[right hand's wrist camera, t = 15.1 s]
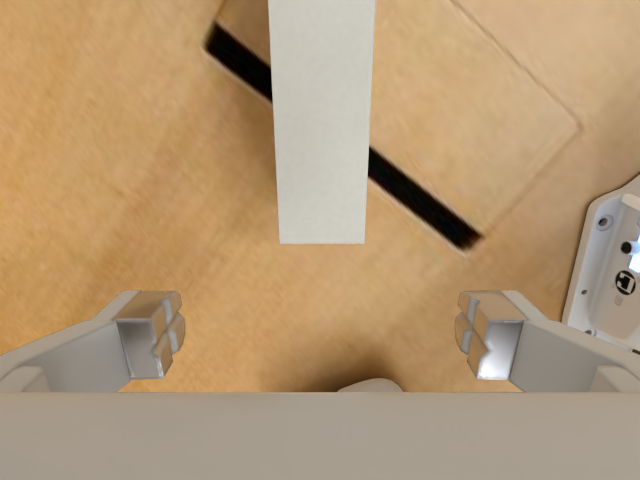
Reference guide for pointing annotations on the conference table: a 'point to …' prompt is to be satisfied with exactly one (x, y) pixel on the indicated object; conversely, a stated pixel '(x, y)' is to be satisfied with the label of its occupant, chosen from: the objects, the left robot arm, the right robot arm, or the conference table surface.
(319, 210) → the box
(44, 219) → the conference table surface
